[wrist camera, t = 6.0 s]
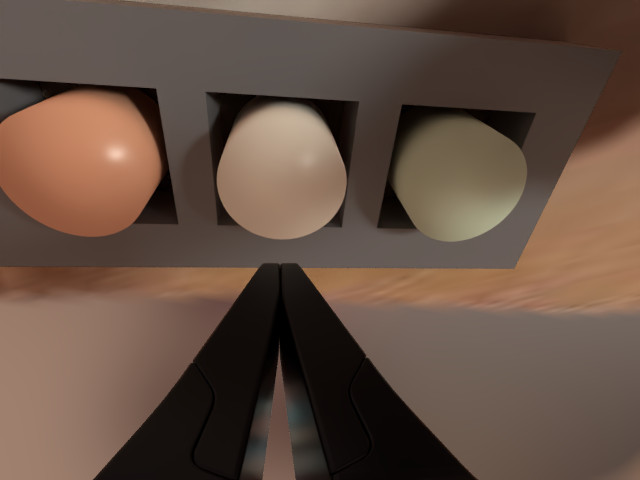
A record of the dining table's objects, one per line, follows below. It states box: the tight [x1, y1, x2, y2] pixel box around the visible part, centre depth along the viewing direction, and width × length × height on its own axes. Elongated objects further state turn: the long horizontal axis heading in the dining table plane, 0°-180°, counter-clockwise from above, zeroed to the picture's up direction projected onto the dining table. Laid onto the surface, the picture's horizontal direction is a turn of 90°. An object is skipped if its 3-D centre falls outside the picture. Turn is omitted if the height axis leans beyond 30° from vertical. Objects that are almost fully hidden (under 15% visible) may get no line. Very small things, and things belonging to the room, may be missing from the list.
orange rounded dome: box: [0, 84, 169, 237], centre depth 14 cm, size 5×5×4 cm
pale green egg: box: [387, 105, 527, 242], centre depth 15 cm, size 5×5×4 cm
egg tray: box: [0, 0, 622, 269], centre depth 15 cm, size 24×10×3 cm, turn 85°
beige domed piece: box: [217, 95, 347, 239], centre depth 14 cm, size 5×5×4 cm
